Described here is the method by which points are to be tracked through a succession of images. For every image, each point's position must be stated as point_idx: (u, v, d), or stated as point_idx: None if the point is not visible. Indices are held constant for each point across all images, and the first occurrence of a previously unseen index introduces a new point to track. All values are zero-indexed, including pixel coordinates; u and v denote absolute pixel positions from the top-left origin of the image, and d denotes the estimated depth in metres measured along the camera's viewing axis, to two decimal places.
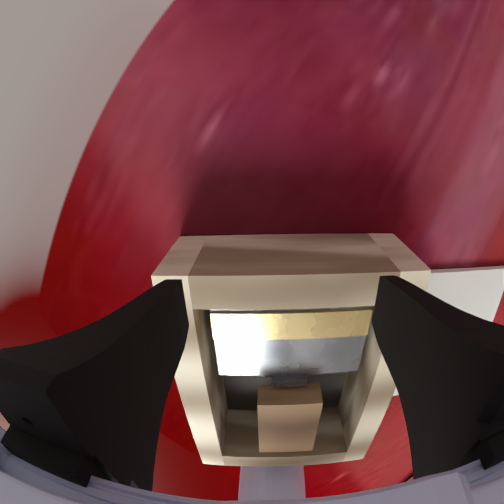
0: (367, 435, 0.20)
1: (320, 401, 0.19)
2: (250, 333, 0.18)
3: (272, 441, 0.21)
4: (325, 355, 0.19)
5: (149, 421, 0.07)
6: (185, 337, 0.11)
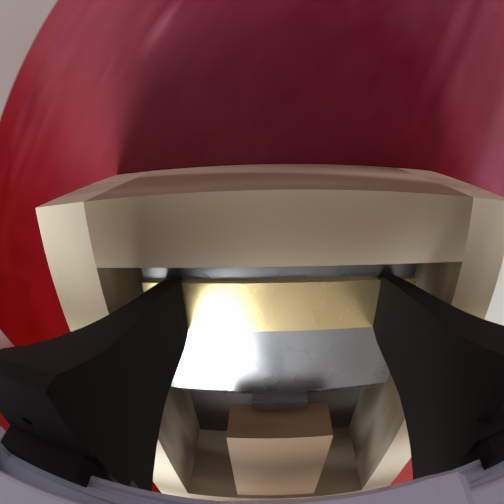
0: (392, 470, 0.13)
1: (329, 432, 0.11)
2: (210, 318, 0.11)
3: (256, 484, 0.13)
4: (337, 358, 0.12)
5: (149, 421, 0.07)
6: (185, 337, 0.11)
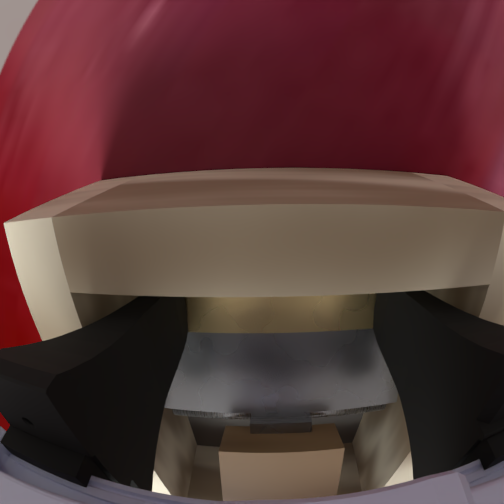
0: None
1: (339, 446, 0.09)
2: (211, 318, 0.11)
3: None
4: (341, 370, 0.11)
5: (149, 421, 0.07)
6: (185, 337, 0.11)
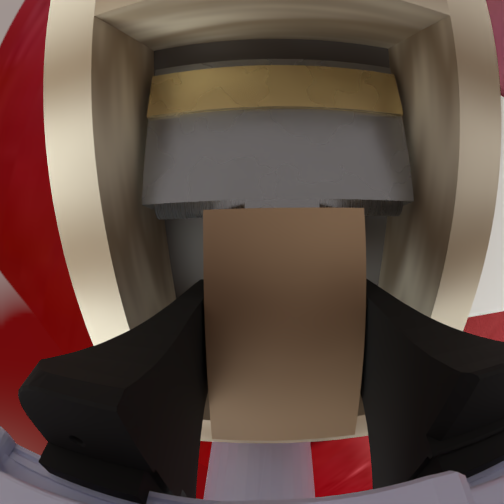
0: None
1: None
2: (207, 97, 0.10)
3: (246, 389, 0.08)
4: (344, 150, 0.10)
5: (194, 427, 0.07)
6: None
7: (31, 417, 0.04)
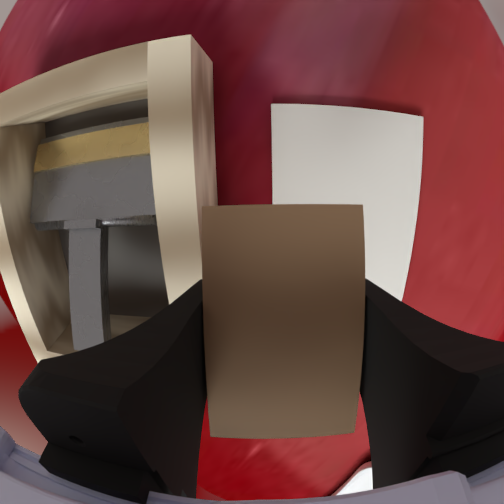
0: None
1: None
2: (58, 158, 0.16)
3: (245, 387, 0.08)
4: (119, 185, 0.16)
5: (193, 426, 0.07)
6: None
7: (31, 418, 0.04)
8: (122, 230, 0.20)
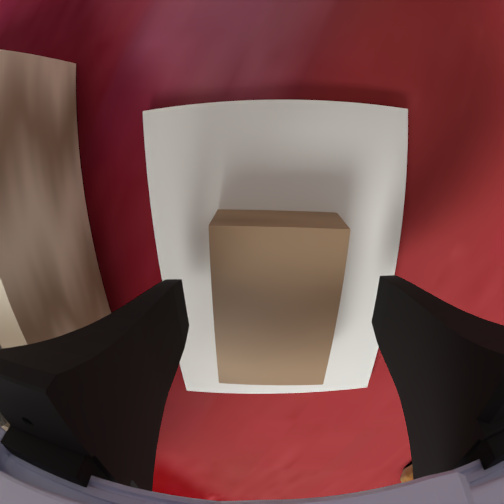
0: None
1: (344, 227, 0.10)
2: None
3: (244, 353, 0.11)
4: None
5: (149, 421, 0.07)
6: (185, 337, 0.11)
7: None
8: None
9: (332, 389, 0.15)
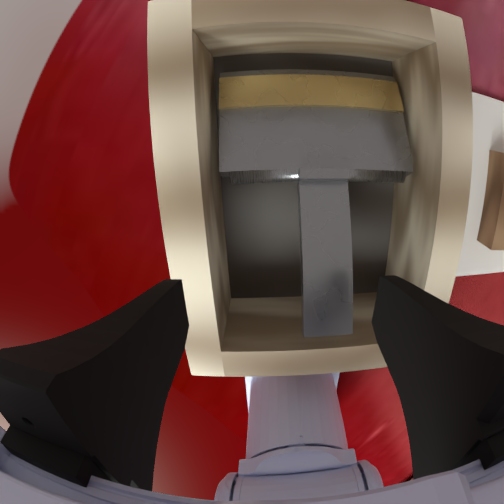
0: None
1: None
2: (265, 96, 0.14)
3: None
4: (363, 136, 0.14)
5: (149, 421, 0.07)
6: (185, 337, 0.11)
7: None
8: None
9: None
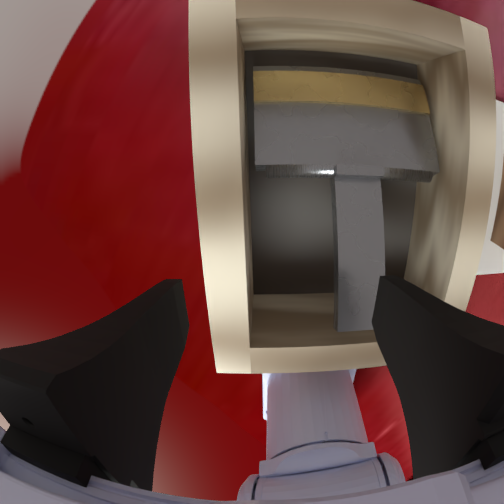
0: (461, 296, 0.14)
1: None
2: (300, 91, 0.14)
3: None
4: (394, 136, 0.14)
5: (148, 421, 0.07)
6: (185, 337, 0.11)
7: None
8: None
9: None
